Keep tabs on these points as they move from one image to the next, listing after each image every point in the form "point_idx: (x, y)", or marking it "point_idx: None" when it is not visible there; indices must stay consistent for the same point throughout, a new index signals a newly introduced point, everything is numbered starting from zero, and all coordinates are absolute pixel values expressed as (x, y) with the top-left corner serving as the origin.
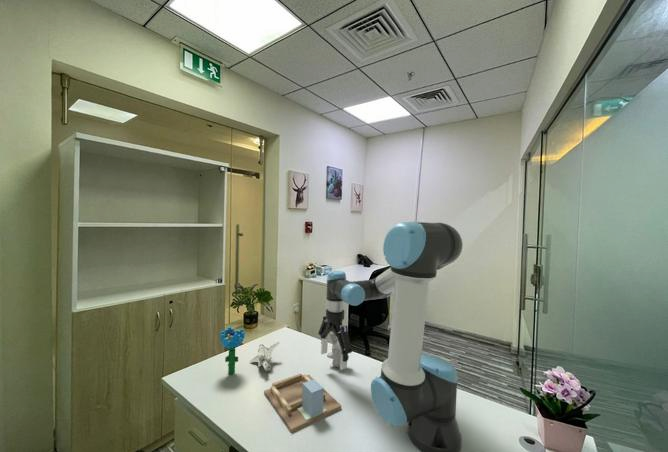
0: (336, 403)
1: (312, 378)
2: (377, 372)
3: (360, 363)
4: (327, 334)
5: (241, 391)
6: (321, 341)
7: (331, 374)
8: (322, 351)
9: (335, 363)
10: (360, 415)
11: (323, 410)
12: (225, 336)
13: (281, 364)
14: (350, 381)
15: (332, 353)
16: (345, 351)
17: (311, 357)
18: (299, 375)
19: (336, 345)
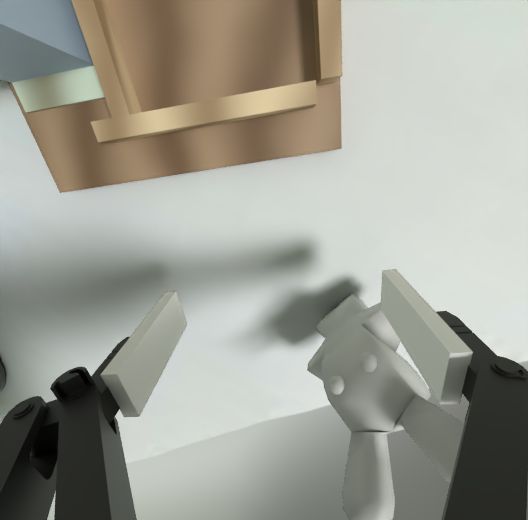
0: (75, 179)
1: (297, 152)
2: (239, 397)
3: (315, 385)
4: (459, 445)
5: None
6: (466, 330)
7: (304, 261)
8: (390, 283)
9: (339, 308)
10: (31, 238)
11: (23, 91)
12: None
13: None
14: (225, 303)
15: (365, 330)
16: (29, 414)
17: (499, 240)
18: (325, 56)
19: (368, 390)
